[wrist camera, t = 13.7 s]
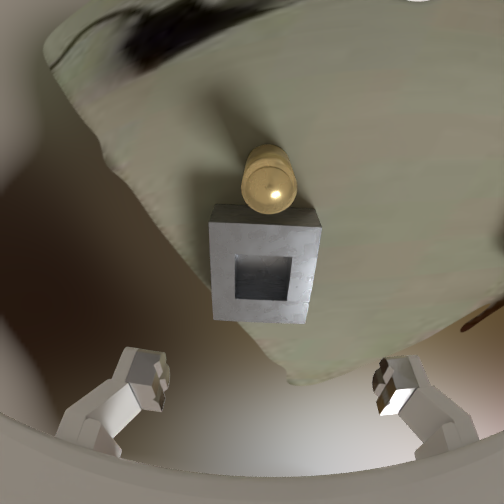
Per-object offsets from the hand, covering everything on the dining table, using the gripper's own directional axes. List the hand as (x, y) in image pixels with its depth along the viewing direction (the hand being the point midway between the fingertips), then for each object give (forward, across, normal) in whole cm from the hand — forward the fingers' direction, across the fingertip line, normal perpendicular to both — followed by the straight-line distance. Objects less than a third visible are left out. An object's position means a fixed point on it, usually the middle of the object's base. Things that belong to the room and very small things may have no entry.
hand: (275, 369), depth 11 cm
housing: (+27, 0, +12) cm, 30 cm away
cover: (+27, 0, 0) cm, 27 cm away
